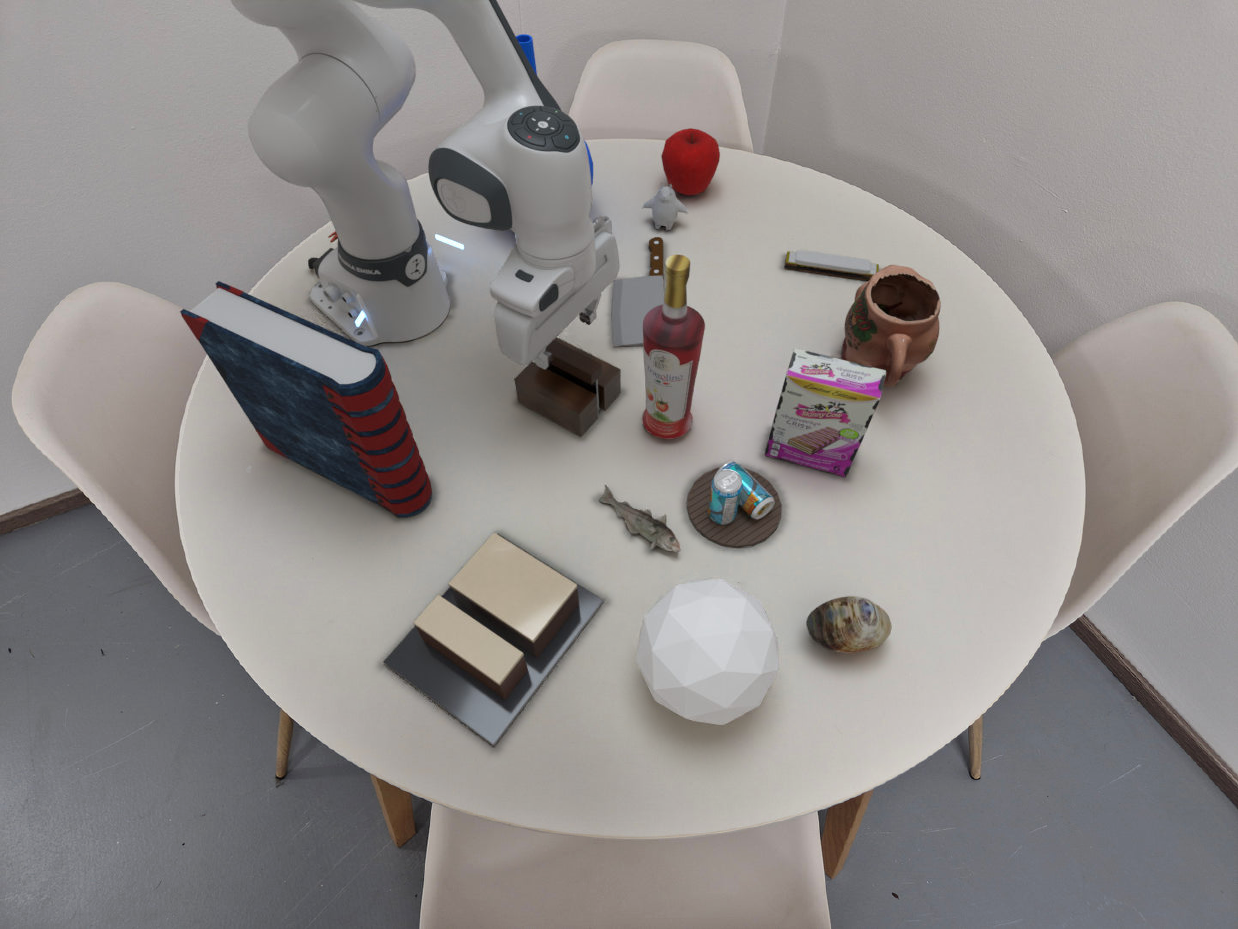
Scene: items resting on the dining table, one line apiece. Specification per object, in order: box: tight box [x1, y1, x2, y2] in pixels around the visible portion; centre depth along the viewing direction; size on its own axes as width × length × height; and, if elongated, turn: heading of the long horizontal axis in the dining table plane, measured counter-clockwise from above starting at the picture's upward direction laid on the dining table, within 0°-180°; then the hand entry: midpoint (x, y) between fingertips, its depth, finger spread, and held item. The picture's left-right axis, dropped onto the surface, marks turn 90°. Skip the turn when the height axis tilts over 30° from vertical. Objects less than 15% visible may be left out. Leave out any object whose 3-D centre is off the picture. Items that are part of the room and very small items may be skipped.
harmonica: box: [784, 249, 880, 281], centre depth 122 cm, size 15×3×2 cm, turn 77°
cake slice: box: [413, 594, 528, 699], centre depth 83 cm, size 12×4×5 cm, turn 56°
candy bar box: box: [764, 347, 886, 478], centre depth 95 cm, size 11×5×16 cm, turn 71°
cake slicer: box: [545, 340, 602, 414], centre depth 104 cm, size 10×2×9 cm, turn 56°
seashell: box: [805, 595, 893, 654], centre depth 84 cm, size 10×6×8 cm, turn 91°
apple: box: [661, 127, 721, 196], centre depth 131 cm, size 10×10×11 cm
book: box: [179, 280, 433, 519], centre depth 91 cm, size 25×7×25 cm, turn 61°
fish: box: [598, 484, 682, 553], centre depth 95 cm, size 13×4×5 cm
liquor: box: [641, 254, 706, 440], centre depth 94 cm, size 7×7×28 cm
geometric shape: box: [635, 577, 781, 726], centre depth 79 cm, size 14×15×15 cm
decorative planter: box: [841, 264, 942, 388], centre depth 105 cm, size 20×12×14 cm, turn 176°
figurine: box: [641, 182, 689, 232], centre depth 127 cm, size 8×6×8 cm
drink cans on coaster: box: [686, 459, 783, 549], centre depth 94 cm, size 12×12×8 cm
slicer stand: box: [513, 336, 622, 438], centre depth 106 cm, size 11×10×5 cm
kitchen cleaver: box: [611, 236, 665, 348], centre depth 120 cm, size 24×1×10 cm
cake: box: [382, 532, 604, 747], centre depth 85 cm, size 16×20×6 cm
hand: (566, 341), depth 99 cm, fingers open, 8 cm apart
